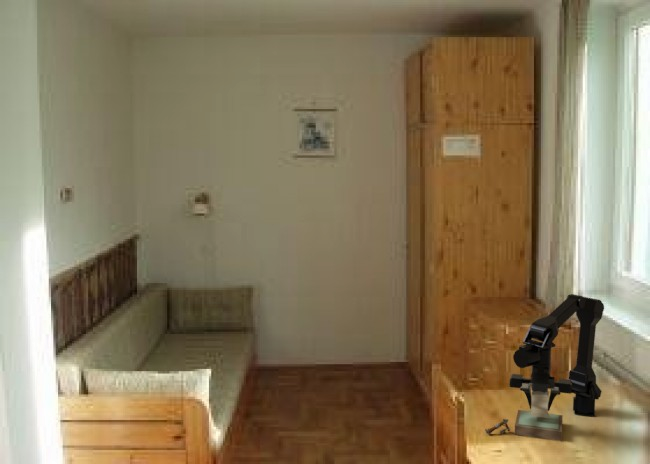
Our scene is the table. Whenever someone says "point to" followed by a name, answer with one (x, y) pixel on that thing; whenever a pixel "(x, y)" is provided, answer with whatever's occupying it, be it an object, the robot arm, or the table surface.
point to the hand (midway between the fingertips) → (539, 409)
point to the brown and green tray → (538, 426)
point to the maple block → (539, 404)
